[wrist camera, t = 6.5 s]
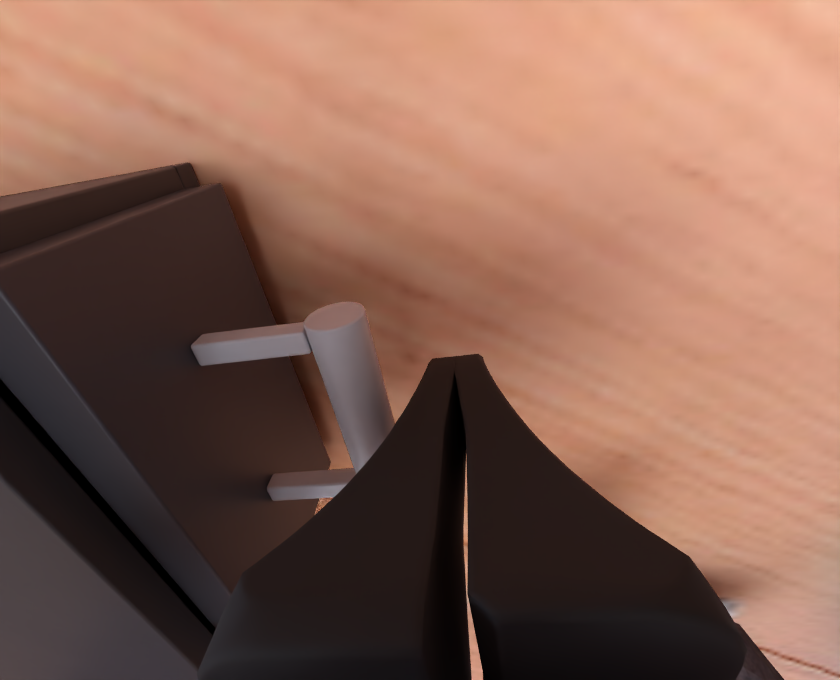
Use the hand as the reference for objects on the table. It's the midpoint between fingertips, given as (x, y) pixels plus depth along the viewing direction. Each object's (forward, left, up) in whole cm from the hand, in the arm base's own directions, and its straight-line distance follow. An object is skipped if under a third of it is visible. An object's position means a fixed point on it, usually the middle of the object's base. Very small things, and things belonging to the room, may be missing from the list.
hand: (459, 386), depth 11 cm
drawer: (0, +10, -3) cm, 11 cm away
